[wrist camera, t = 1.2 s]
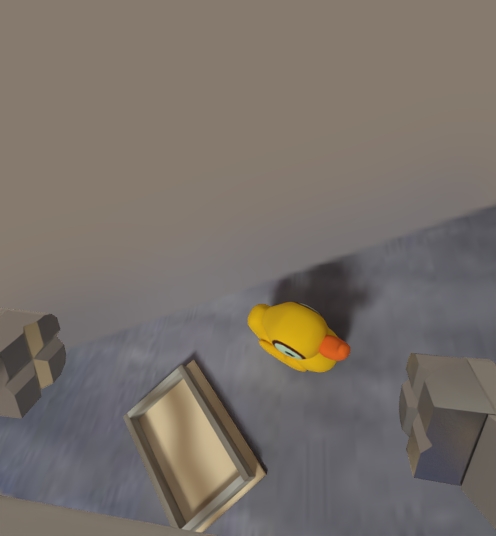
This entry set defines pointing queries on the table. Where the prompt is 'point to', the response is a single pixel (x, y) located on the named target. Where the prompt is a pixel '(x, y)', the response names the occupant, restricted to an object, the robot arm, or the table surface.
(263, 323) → the duckling
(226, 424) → the shallow wooden tray
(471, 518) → the table surface
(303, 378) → the table surface
